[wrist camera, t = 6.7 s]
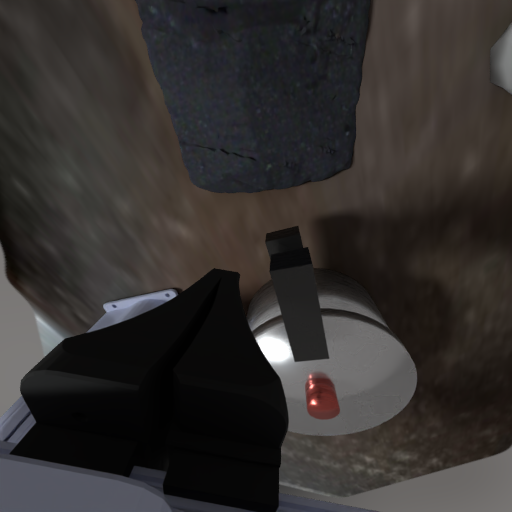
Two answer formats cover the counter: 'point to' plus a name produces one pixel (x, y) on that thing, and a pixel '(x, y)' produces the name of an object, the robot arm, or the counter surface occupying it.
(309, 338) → the lid
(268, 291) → the pot
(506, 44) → the salt shaker
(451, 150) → the counter surface
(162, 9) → the dark slate chunk
